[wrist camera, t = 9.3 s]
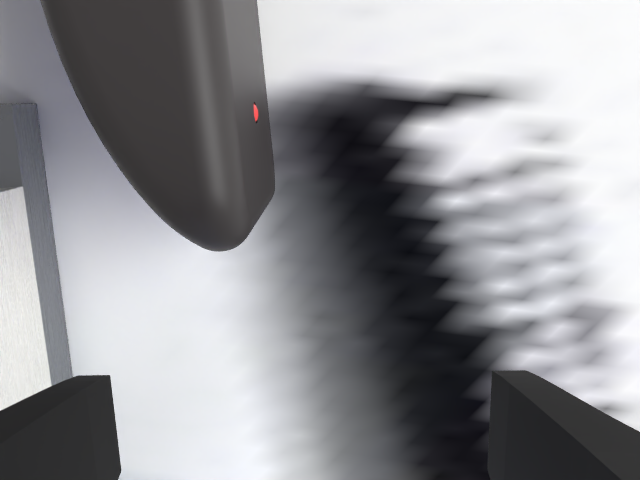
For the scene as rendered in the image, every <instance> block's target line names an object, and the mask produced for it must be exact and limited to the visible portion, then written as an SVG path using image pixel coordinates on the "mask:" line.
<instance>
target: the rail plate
mask: <svg viewBox="0 0 640 480" xmlns="http://www.w3.org/2000/svg"><path fill="white" fill-rule="evenodd" d="M70 378H73V375H72V368H71V360H70V353H69V345H68V338H67V330H66V323H65V315H64V308H63V301H62V293H61V286H60V278H59V271H58V263H57V256H56V248H55V241H54V233H53V226H52V219H51V211H50V204H49V196H48V189H47V181H46V174H45V166H44V159H43V152H42V144H41V137H40V129H39V122H38V114H37V107H36V104H0V411H1V410H3V409H5V408H7V407H9V406H11V405H13V404H15V403H17V402H19V401H21V400H23V399H25V398H27V397H29V396H31V395H34V394H36V393H38V392H40V391H42V390H44V389H46V388H48V387H51V386H53V385H55V384H57V383H60V382H62V381H64V380H67V379H70Z"/></svg>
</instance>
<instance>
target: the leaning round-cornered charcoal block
mask: <svg viewBox="0 0 640 480" xmlns="http://www.w3.org/2000/svg"><path fill="white" fill-rule="evenodd" d="M41 3H42V7H43V10H44V13H45V16H46V19H47V23H48V26H49V29H50V32H51V35H52V37H53V40H54V43H55V45H56V48H57V51H58V53H59V56H60V59H61V61H62V64H63V66H64V68H65V71H66V73H67V75H68V77H69V80H70V82H71V84H72V86H73V89H74V91H75V93H76V95H77V97H78V99H79V101H80V103H81V105H82V107H83V109H84V111H85V113H86V115H87V117H88V119H89V121H90V122H91V124H92V126H93V127H94V129H95V131H96V133H97V134H98V136H99V138H100V140H101V141H102V143H103V145H104V146H105V148H106V149H107V151H108V152H109V154H110V155H111V157H112V158H113V160H114V161H115V163H116V164H117V166H118V167H119V169H120V170H121V171H122V173H123V174H124V175H125V177H126V178H127V179H128V181H129V182H130V183H131V185H132V186H133V187H134V189H135V190H136V191H137V192H138V193H139V195H140V196H141V197H142V198H143V199H144V200H145V202H146V203H147V204H148V205H149V206H150V207H151V208H152V210H153V211H154V212H155V213H156V214H157V215H158V216H159V217H160V218H161V219H162V220H163V221H164V222H166V223H167V224H168V225H169V226H170V227H171V228H173V229H174V230H175V231H176V232H178V233H179V234H181V235H182V236H183V237H185V238H186V239H188V240H190V241H191V242H193V243H195V244H197V245H198V246H200V247H202V248H205V249H207V250H211V251H227V250H231V249H233V248H235V247H237V246H239V245H240V244H241V243H242V242H243V241H244V240H245V239H246V238H247V236H248V235H249V233H250V232H251V230H252V229H253V227H254V225H255V224H256V222H257V221H258V219H259V218H260V216H261V215H262V213H263V211H264V210H265V208H266V207H267V205H268V204H269V202H270V201H271V199H272V197H273V195H274V191H275V175H274V161H273V151H272V142H271V132H270V122H269V113H268V103H267V94H266V84H265V75H264V65H263V56H262V46H261V37H260V27H259V18H258V8H257V0H41Z"/></svg>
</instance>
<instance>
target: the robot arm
mask: <svg viewBox="0 0 640 480" xmlns="http://www.w3.org/2000/svg"><path fill="white" fill-rule="evenodd" d="M487 468H488V472H489V476H490V479H491V480H640V432H639V431H637V430H635V429H633V428H631V427H629V426H627V425H626V424H624V423H622V422H620V421H618V420H616V419H614V418H612V417H611V416H609V415H607V414H605V413H603V412H601V411H600V410H598V409H596V408H594V407H593V406H591V405H589V404H587V403H585V402H584V401H582V400H580V399H578V398H577V397H575V396H573V395H571V394H570V393H568V392H566V391H564V390H563V389H561V388H559V387H557V386H556V385H554V384H552V383H550V382H548V381H547V380H545V379H543V378H541V377H539V376H537V375H535V374H533V373H530V372H528V371H492V386H491V406H490V426H489V446H488V466H487ZM120 473H121V464H120V456H119V447H118V439H117V430H116V422H115V413H114V405H113V397H112V388H111V380H110V375H92V376H76V377H73V378H70V379H67V380H64V381H62V382H60V383H57V384H55V385H53V386H51V387H48V388H46V389H44V390H42V391H40V392H38V393H36V394H34V395H31V396H29V397H27V398H25V399H23V400H21V401H19V402H17V403H15V404H13V405H11V406H9V407H7V408H5V409H3V410H1V411H0V480H118V478H119V475H120Z"/></svg>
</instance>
